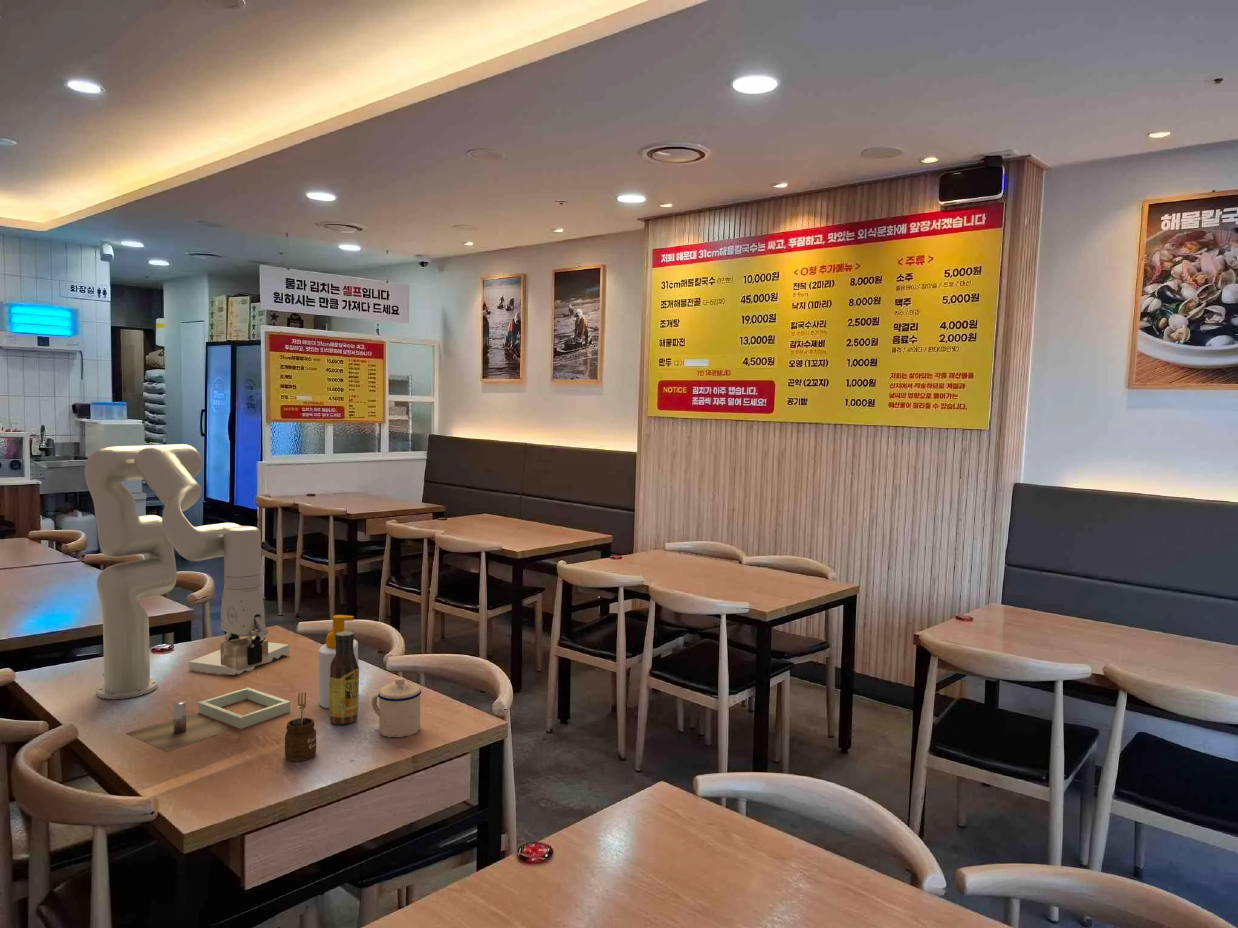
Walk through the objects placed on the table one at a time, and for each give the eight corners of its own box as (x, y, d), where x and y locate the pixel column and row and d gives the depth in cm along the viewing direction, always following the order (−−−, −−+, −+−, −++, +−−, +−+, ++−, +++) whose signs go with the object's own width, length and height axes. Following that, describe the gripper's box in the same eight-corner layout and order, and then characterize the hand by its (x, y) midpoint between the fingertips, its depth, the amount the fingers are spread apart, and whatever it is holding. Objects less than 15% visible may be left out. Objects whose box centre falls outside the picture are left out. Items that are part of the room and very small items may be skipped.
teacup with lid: (429, 726, 178) (429, 675, 177) (403, 741, 170) (403, 687, 169) (386, 717, 183) (386, 667, 182) (358, 731, 175) (358, 679, 174)
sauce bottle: (349, 727, 177) (348, 638, 176) (323, 724, 178) (323, 636, 177) (364, 716, 183) (364, 630, 182) (339, 713, 185) (339, 628, 183)
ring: (220, 664, 179) (220, 642, 179) (249, 656, 185) (249, 635, 185) (239, 670, 175) (238, 647, 175) (268, 662, 181) (267, 640, 181)
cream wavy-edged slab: (234, 680, 208) (289, 656, 227) (233, 667, 208) (288, 644, 227) (189, 673, 213) (247, 650, 232) (189, 661, 213) (246, 639, 232)
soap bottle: (345, 709, 187) (345, 623, 186) (310, 708, 188) (310, 623, 186) (365, 689, 201) (365, 609, 199) (332, 689, 201) (332, 609, 199)
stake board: (125, 740, 168) (125, 733, 168) (191, 719, 180) (191, 712, 180) (167, 759, 160) (167, 751, 159) (233, 735, 171) (233, 728, 171)
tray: (198, 718, 180) (198, 702, 180) (248, 702, 190) (248, 687, 190) (240, 735, 172) (240, 717, 171) (290, 717, 182) (290, 701, 181)
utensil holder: (283, 763, 158) (282, 704, 158) (287, 750, 165) (286, 693, 164) (314, 760, 160) (314, 701, 159) (317, 747, 166) (317, 691, 165)
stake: (171, 731, 169) (170, 703, 169) (182, 727, 171) (182, 700, 171) (177, 734, 168) (177, 706, 168) (188, 730, 170) (188, 702, 170)
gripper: (204, 580, 180) (206, 658, 182) (250, 589, 171) (252, 671, 172) (236, 574, 187) (237, 650, 188) (282, 583, 177) (283, 663, 179)
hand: (244, 659), depth 180 cm, fingers closed on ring, 7 cm apart
